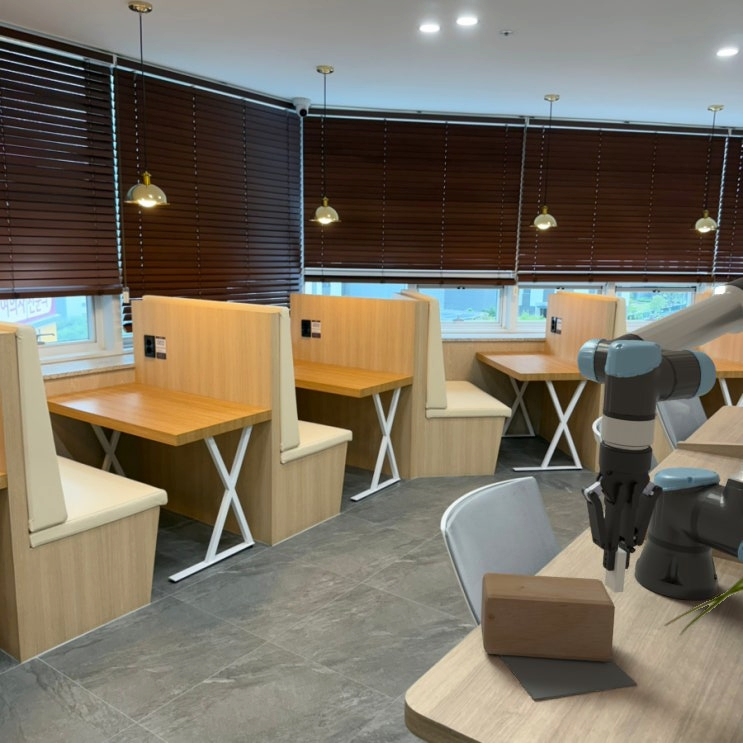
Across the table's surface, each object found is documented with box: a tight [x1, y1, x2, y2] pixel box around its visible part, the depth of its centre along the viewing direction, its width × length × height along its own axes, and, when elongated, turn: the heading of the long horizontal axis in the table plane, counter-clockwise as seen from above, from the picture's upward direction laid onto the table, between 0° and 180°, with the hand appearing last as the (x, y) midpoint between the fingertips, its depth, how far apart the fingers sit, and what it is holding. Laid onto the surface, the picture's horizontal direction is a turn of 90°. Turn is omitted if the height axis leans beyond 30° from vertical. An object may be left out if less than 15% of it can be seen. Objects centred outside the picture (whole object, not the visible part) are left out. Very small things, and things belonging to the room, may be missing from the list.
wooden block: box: [480, 572, 616, 662], centre depth 113 cm, size 10×10×20 cm
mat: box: [498, 654, 638, 701], centre depth 107 cm, size 17×12×1 cm
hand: (613, 587), depth 109 cm, fingers closed
